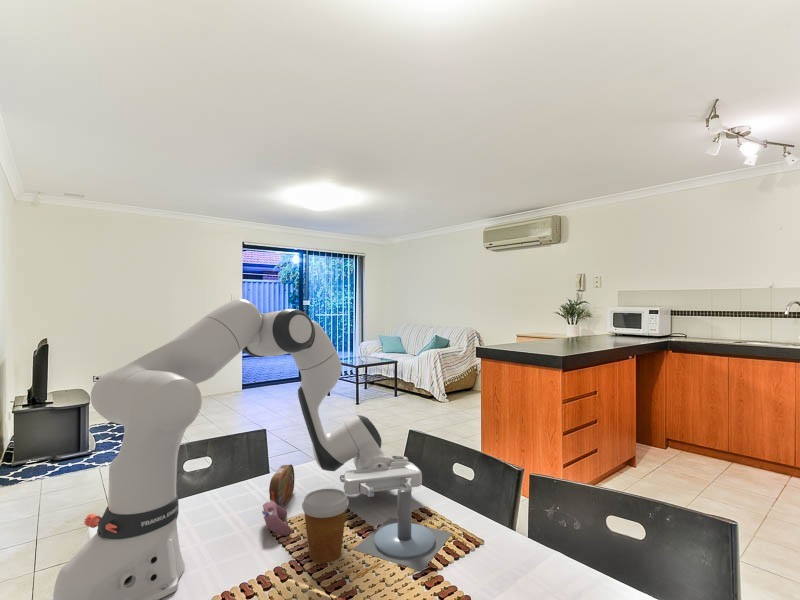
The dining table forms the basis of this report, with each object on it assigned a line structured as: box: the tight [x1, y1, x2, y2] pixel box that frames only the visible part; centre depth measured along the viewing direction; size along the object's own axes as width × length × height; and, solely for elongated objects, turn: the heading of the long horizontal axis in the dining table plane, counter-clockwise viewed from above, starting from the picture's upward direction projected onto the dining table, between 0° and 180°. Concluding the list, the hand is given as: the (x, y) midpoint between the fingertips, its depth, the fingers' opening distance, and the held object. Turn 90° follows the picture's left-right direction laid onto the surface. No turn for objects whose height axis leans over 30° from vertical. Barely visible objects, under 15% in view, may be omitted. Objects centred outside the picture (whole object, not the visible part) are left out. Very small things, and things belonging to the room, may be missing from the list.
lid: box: [374, 488, 435, 558], centre depth 94 cm, size 13×13×11 cm
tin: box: [268, 464, 295, 509], centre depth 114 cm, size 15×3×8 cm, turn 179°
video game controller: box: [261, 500, 292, 537], centre depth 100 cm, size 10×5×7 cm, turn 20°
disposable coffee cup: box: [301, 488, 349, 564], centre depth 89 cm, size 10×10×12 cm
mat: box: [352, 517, 454, 572], centre depth 93 cm, size 16×16×1 cm
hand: (390, 491), depth 104 cm, fingers open, 8 cm apart
